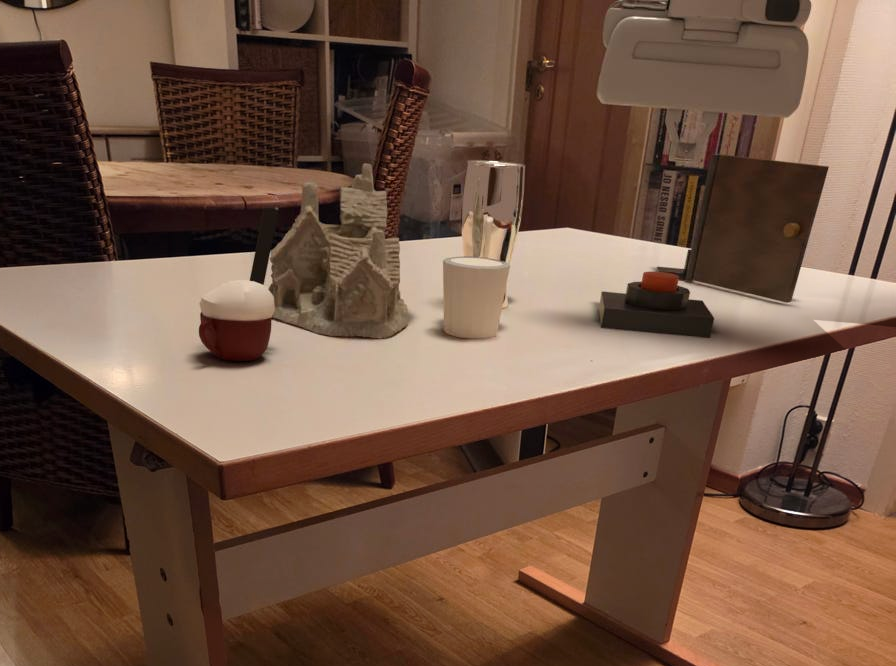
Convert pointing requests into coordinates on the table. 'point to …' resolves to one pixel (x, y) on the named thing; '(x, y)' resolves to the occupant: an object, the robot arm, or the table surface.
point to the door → (755, 224)
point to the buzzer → (655, 312)
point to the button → (660, 281)
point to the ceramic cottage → (340, 267)
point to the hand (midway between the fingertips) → (682, 161)
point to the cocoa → (242, 306)
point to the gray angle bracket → (677, 269)
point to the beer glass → (492, 209)
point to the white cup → (473, 295)
